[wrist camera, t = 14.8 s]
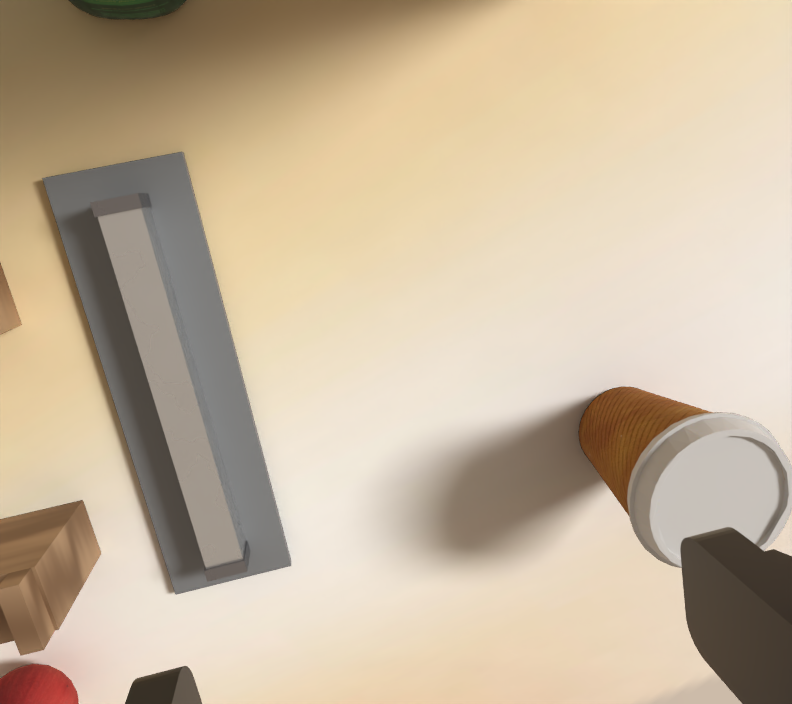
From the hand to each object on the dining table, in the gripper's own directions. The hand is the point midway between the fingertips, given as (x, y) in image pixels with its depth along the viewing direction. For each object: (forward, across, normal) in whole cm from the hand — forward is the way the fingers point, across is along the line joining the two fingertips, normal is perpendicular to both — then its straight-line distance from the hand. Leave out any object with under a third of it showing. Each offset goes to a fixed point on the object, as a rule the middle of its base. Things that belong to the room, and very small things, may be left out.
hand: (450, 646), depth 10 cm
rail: (+32, +11, +3) cm, 34 cm away
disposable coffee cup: (+33, -18, +13) cm, 40 cm away
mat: (+33, +11, +3) cm, 35 cm away
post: (+33, +22, +11) cm, 41 cm away
